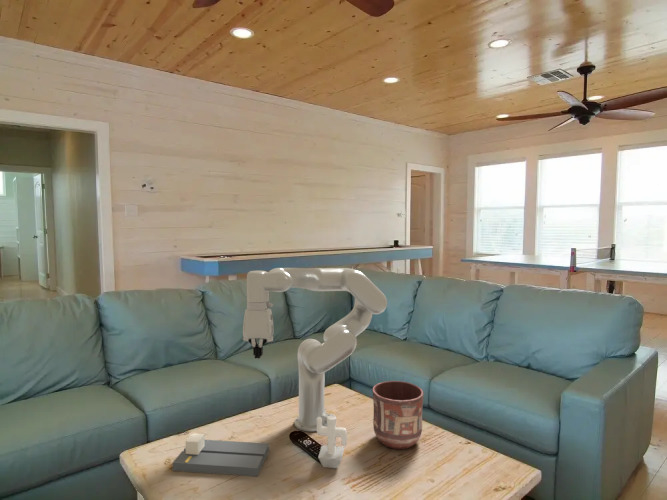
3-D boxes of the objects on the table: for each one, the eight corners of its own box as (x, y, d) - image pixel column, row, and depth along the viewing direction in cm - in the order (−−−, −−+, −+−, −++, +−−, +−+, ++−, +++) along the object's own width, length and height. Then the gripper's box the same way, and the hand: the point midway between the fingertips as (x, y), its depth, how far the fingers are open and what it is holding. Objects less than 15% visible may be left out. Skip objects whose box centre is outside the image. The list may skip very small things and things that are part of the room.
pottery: (360, 439, 145) (361, 388, 144) (394, 423, 156) (394, 376, 155) (400, 461, 131) (401, 405, 130) (433, 442, 143) (434, 391, 142)
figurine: (345, 471, 126) (345, 423, 125) (314, 468, 127) (314, 420, 126) (347, 458, 133) (348, 412, 132) (318, 455, 134) (318, 410, 133)
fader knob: (204, 449, 134) (204, 434, 134) (198, 457, 129) (197, 442, 129) (192, 448, 135) (192, 433, 134) (185, 457, 130) (185, 441, 129)
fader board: (269, 450, 137) (269, 442, 137) (257, 476, 123) (257, 467, 123) (192, 446, 139) (192, 438, 139) (172, 470, 125) (172, 461, 125)
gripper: (281, 304, 150) (281, 354, 151) (240, 303, 151) (240, 353, 152) (276, 308, 142) (276, 361, 143) (233, 307, 144) (234, 359, 145)
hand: (258, 357), depth 148 cm, fingers closed
